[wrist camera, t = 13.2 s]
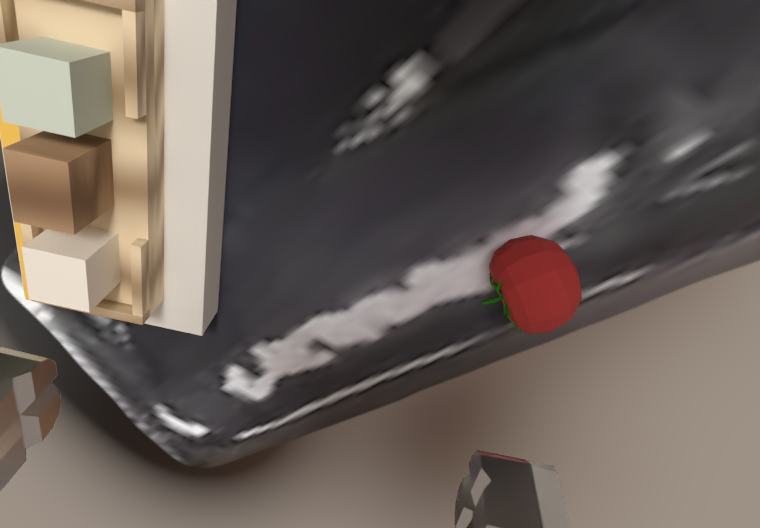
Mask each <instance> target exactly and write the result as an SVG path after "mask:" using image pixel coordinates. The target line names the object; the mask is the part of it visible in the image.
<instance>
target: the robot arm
mask: <svg viewBox="0 0 760 528" xmlns="http://www.w3.org/2000/svg"><path fill="white" fill-rule="evenodd" d="M56 376H57V369H56V364H55V361H53V360H51V359H48V358H44V357H40V356H36V355H32V354H28V353H23V352H19V351H15V350H11V349H6V348H3V347H0V491H1V490H2V489H3V488H4V486H5V485H6V484H7V483H8V482H9V481H10V479H11V478H12V477H13V476H14V475H15V473H16V472H17V471H18V470H19V469H20V467H21V466H22V465H23V464H24V463H25V461H26V449H27V448H29V447H31V446H33V445H35V444H37V443H39V442H42V441H43V440H44V438H45V437H46V436H47V435H48V433H49V432H50V430H51V429H52V428H53V426H54V424H55V421H56V419H57V417H58V415H59V411H60V404H61V398H60V392H59V391H58V390H57V388H56V387H55V386H54V385H53V384H52V383H51V381H52V380H53V379H54V378H55V377H56ZM469 469H470V474H469V475H468V476H466V477H464V478H463V479H462V481H461V484H460V487H459V490H458V494H457V499H456V504H455V528H571V525H570V521H569V516H568V512H567V508H566V505H565V500H564V496H563V492H562V489H561V484H560V481H559V477H558V472H557V470H556V469H555V467H554V466H552V465H547V464H543V463H537V462H533V461H526V460H524V459H519V458H514V457H509V456H504V455H499V454H494V453H489V452H484V451H480V450H476V451H475V452H474V454H473V455H472V457H471V460H470V462H469Z"/></svg>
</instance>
